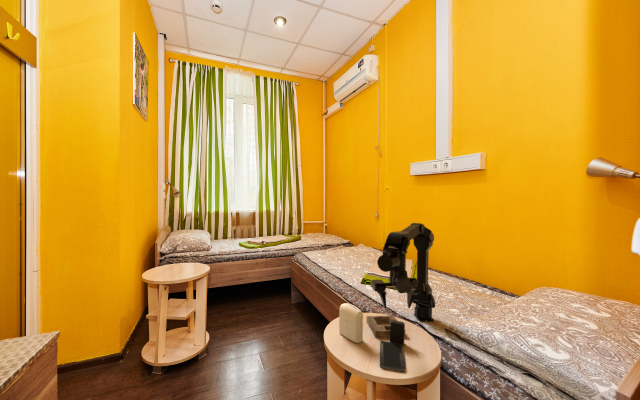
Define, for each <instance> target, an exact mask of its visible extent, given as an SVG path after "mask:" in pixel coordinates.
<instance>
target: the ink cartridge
mask: <svg viewBox="0 0 640 400" xmlns="http://www.w3.org/2000/svg"><path fill="white" fill-rule="evenodd" d="M396 320H397V319H396ZM396 320H391V324H389V325H390V337H389V342H393V343H399V344H402V347H404V346H405V345H404V344H405V337H404V333H405V334H406V329H405V328H406V324H405V322H403V321H400V320H397V321H396Z"/></svg>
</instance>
